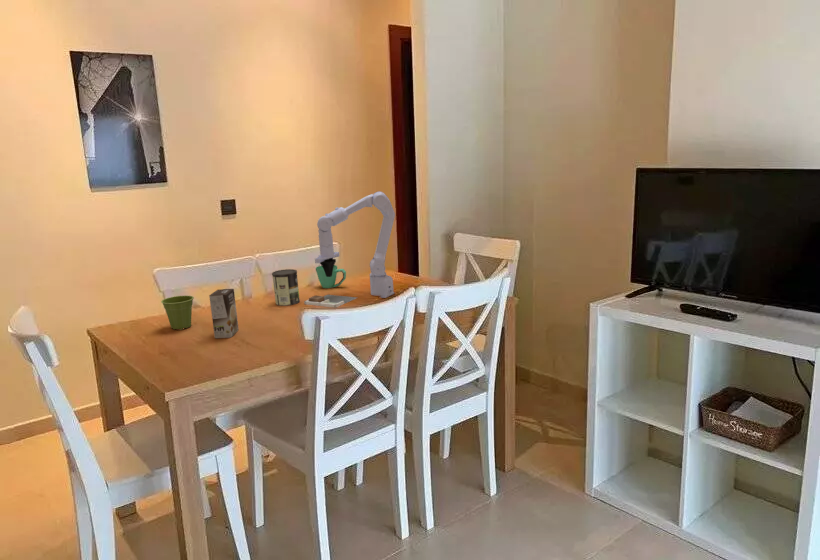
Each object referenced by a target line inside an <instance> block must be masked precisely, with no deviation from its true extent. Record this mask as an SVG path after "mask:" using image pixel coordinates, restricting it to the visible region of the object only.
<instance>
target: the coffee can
mask: <svg viewBox="0 0 820 560" xmlns="http://www.w3.org/2000/svg"><path fill="white" fill-rule="evenodd" d="M271 275H272V281H273V289H274V301H275V305H276V306H279V307H280V306H281V307H288V306H293V305H297V304H299V303H300V302H301V301H300V300H301V299H300V292H299V283H298V281H299V280H298V271H297V269H292V268H286V269H279V270H275V271H273V272H272V273H271Z"/></svg>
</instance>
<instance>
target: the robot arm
mask: <svg viewBox="0 0 820 560" xmlns="http://www.w3.org/2000/svg"><path fill="white" fill-rule="evenodd" d="M373 206H374V207H375V208H376V209H377V210H378V211H380V213H381V214H382V216H383V217H382V221H381V225H380V230H379V233H378V239H377V243H376V247H375V251H374V253H373V258H372V259H371V260H370V261H369V268H370V273H369V283H370V295H371V296H378V297H379V298H383V299H384V298H385V299H386V298H388V297H390V296H392V295H394V294H395V292H394V278H393V277H392V276H390V275H388V274H387V272H386V266H385V265H386V264H385V263H386V255H387V253H388V252H387V251H388V246H389V243H390V239H391V233H392V229H393V226H394V221H395V217H396V213H395V210H394V208H393V206H392V202H391V201H390V199H389V197H388V195H386V193H384V192H383V191H376V192H374V193H371V194H369V195H365V196H364V197H362V198H360V199H358V200H357V201H355V202H353V203H352V204H350V205H348V206H346V207H341V206H340V207H335V208H334V209H335V210H332V211H331V212H329V213H328V212H327V213H325V214H324V215H323V216H320V217H319V218H318V220H317V224H316V225H317V228H318V242H319V255H318V256H317V257H315V258H314V262H315V264H320V266H322V267H323V269H324V271H325V274H326V277H331V276H332V272H333V267H334V265H336V262H337V259H335V258H339V257H340V251H335V250H334V239H333V233H332V227H335V226H337V225H339V224H341V223H343V222H345V221H347V220H348V219H349V218H348V217H349V215H352V214H354V213H356V212H357V211H360V210H362V209H364V208H373ZM334 251H335V252H334Z"/></svg>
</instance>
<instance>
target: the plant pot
mask: <svg viewBox="0 0 820 560" xmlns="http://www.w3.org/2000/svg"><path fill="white" fill-rule="evenodd" d="M194 299H195V297H194V296H193V295H176V296H170V297H167V298H164V299H162V300H160V302H161V304H162V305H163V308H164V310H165V312H166V316H167V318H168V321H169V326H170V328H171V329H172V328H173V329H172V330H175V329H180V330H184V329H183V328H186V329H187V328H190V327H191V326H192V315H193V314H192V310H193V301H194Z"/></svg>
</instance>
